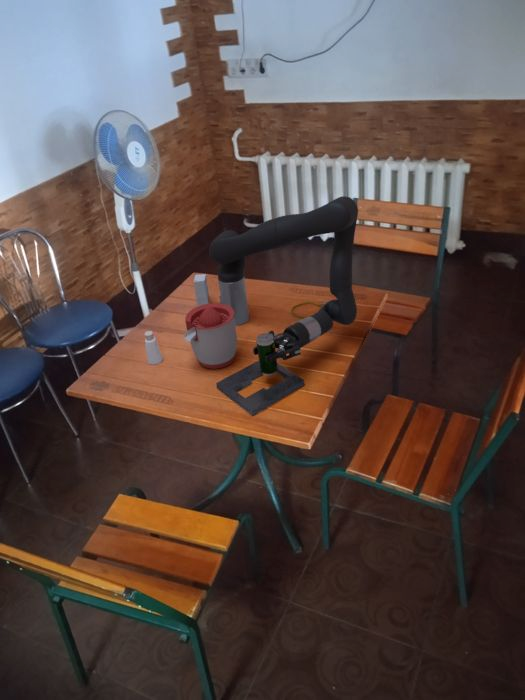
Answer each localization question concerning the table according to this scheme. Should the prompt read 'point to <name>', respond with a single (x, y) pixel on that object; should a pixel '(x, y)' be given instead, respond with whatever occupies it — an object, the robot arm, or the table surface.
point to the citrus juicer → (212, 334)
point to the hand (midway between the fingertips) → (260, 355)
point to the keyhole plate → (262, 396)
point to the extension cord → (304, 304)
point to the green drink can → (266, 353)
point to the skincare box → (201, 289)
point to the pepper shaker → (152, 349)
